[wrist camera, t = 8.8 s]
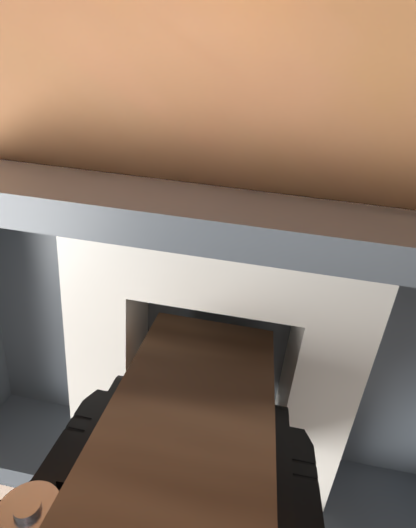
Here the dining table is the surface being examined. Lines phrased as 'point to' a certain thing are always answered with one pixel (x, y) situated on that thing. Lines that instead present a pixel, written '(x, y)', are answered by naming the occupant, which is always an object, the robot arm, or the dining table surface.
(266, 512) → the peg
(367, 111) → the dining table surface
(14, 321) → the walled box
